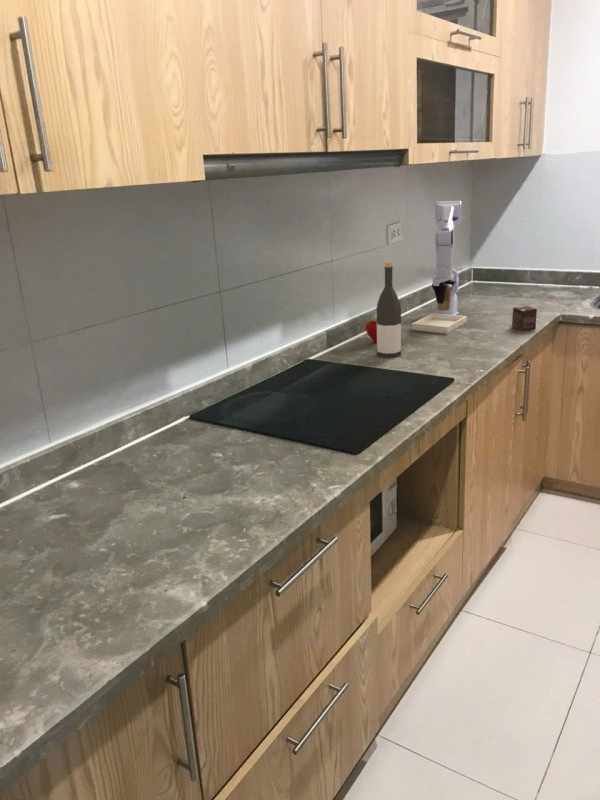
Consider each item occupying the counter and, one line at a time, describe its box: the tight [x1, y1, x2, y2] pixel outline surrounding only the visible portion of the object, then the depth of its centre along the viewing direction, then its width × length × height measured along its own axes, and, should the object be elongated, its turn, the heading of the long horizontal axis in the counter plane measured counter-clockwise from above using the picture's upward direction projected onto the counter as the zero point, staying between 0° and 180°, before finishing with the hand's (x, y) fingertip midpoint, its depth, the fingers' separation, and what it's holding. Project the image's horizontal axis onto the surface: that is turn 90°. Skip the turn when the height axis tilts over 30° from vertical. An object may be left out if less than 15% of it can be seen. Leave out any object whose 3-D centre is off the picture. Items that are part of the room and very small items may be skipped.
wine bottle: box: [376, 261, 402, 359], centre depth 205 cm, size 8×8×30 cm
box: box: [511, 305, 538, 331], centre depth 231 cm, size 6×6×7 cm
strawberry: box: [364, 318, 377, 344], centre depth 223 cm, size 6×8×10 cm
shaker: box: [437, 283, 452, 311], centre depth 236 cm, size 5×5×9 cm
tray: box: [411, 312, 468, 335], centre depth 240 cm, size 18×14×2 cm
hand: (443, 301), depth 237 cm, fingers closed on shaker, 4 cm apart
